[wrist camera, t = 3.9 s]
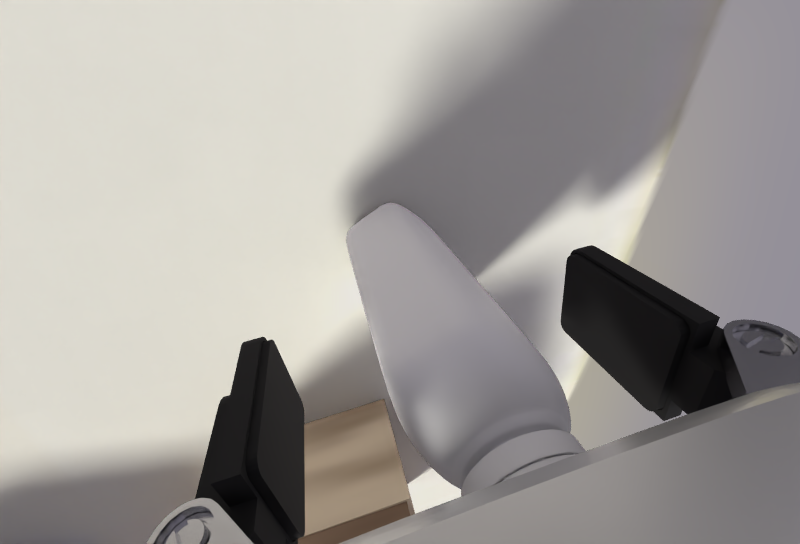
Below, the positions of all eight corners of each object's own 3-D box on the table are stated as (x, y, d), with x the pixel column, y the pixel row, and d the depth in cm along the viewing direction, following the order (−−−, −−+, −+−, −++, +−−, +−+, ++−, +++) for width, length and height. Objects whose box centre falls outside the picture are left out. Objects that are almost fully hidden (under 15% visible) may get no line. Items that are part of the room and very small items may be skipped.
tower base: (220, 447, 16) (191, 576, 12) (383, 396, 17) (409, 498, 13) (277, 527, 21) (270, 644, 16) (406, 482, 22) (432, 580, 17)
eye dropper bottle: (359, 330, 15) (483, 870, 5) (339, 204, 12) (540, 858, 2) (454, 310, 16) (737, 737, 6) (457, 188, 13) (1039, 594, 3)
